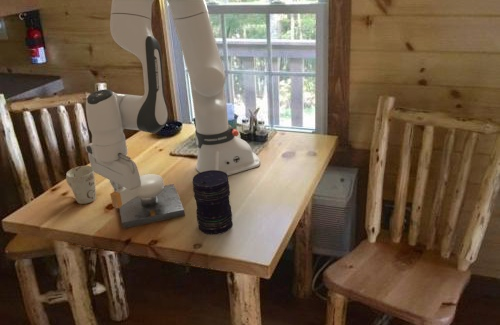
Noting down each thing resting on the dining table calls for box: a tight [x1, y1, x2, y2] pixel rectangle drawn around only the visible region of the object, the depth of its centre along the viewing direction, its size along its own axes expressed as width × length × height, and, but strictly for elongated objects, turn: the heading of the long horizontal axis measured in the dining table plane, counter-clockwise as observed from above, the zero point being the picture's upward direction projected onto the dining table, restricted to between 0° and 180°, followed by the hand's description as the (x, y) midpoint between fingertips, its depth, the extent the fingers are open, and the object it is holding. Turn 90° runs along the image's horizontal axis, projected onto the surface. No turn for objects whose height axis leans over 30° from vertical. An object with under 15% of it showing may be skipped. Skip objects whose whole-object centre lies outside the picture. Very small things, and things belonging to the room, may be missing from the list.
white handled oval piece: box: [109, 173, 165, 209], centre depth 146 cm, size 18×10×5 cm, turn 148°
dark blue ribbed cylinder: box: [192, 170, 233, 236], centre depth 138 cm, size 10×10×15 cm
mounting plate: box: [118, 183, 186, 229], centre depth 151 cm, size 18×18×6 cm
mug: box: [65, 165, 97, 205], centre depth 159 cm, size 8×13×10 cm, turn 58°
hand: (119, 193), depth 144 cm, fingers closed
